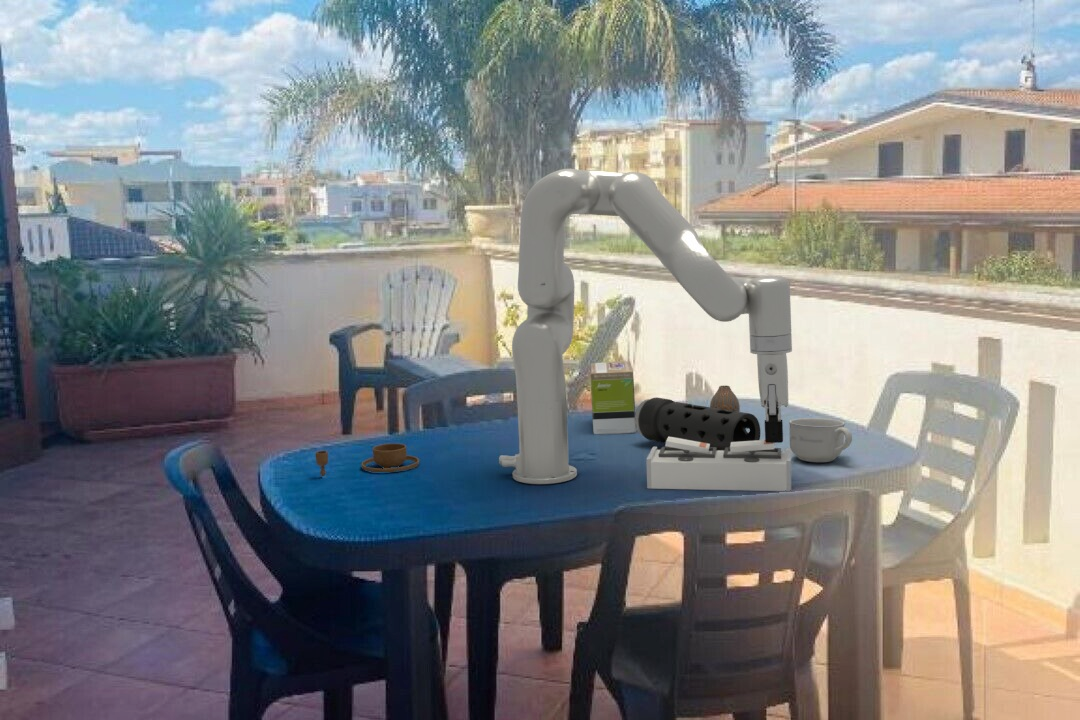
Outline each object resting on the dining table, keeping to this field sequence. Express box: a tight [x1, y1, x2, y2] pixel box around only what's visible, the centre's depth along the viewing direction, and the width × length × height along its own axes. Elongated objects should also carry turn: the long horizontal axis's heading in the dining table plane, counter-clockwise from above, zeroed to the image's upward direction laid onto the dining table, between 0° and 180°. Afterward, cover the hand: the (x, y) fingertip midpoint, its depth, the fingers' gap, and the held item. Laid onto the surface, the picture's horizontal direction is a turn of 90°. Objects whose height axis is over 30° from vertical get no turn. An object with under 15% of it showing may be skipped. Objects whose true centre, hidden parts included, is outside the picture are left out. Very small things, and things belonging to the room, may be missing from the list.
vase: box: [709, 385, 741, 412], centre depth 254 cm, size 7×7×9 cm
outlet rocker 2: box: [730, 439, 775, 454], centre depth 201 cm, size 8×4×2 cm, turn 77°
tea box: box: [590, 360, 637, 435], centre depth 254 cm, size 15×10×15 cm
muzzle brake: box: [634, 397, 761, 451], centre depth 227 cm, size 10×28×10 cm, turn 39°
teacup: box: [788, 417, 853, 463], centre depth 214 cm, size 14×11×8 cm
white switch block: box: [645, 446, 792, 492], centre depth 201 cm, size 26×10×6 cm, turn 77°
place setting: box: [315, 442, 420, 477], centre depth 224 cm, size 18×20×6 cm
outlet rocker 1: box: [664, 436, 710, 454], centre depth 204 cm, size 8×4×2 cm, turn 77°
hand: (774, 441), depth 200 cm, fingers closed
